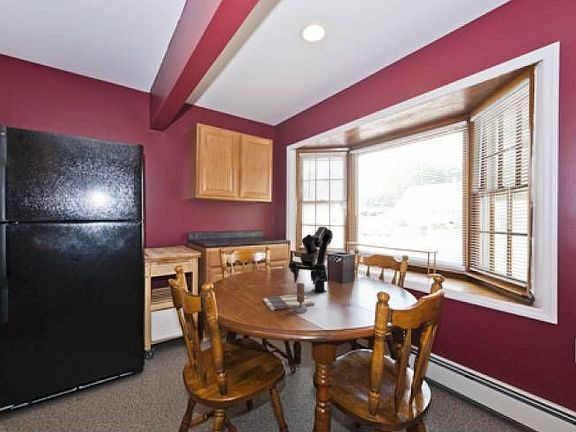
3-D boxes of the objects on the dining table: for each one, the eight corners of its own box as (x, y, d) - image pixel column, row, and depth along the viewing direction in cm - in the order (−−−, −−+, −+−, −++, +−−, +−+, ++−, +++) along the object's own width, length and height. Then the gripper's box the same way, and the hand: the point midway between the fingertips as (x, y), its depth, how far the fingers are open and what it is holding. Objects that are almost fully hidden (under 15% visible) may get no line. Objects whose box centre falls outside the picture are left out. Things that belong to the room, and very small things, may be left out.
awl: (293, 309, 132) (292, 283, 132) (304, 308, 134) (303, 282, 134) (297, 313, 127) (297, 286, 127) (308, 312, 129) (308, 285, 128)
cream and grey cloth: (263, 300, 146) (263, 297, 146) (302, 295, 153) (302, 293, 153) (271, 310, 131) (271, 308, 130) (314, 305, 138) (314, 302, 138)
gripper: (289, 246, 143) (281, 272, 133) (325, 248, 136) (319, 275, 126) (295, 259, 150) (287, 284, 140) (329, 261, 144) (324, 288, 134)
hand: (304, 283), depth 135 cm, fingers open, 9 cm apart
